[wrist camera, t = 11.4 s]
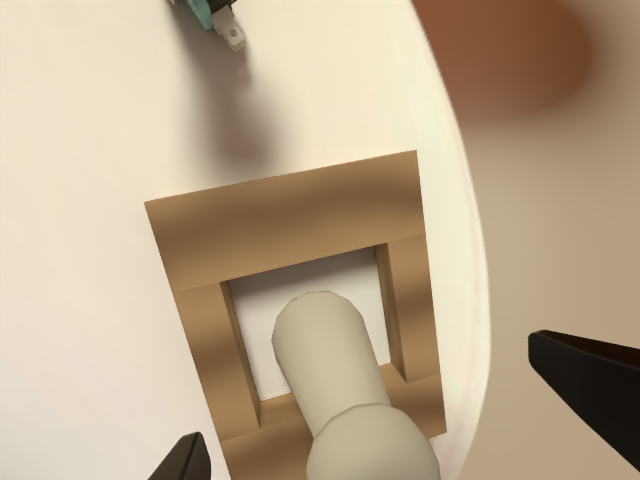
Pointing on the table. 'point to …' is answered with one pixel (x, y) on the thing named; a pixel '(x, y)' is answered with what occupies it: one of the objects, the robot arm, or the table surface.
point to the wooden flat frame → (288, 249)
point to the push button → (218, 20)
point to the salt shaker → (346, 395)
